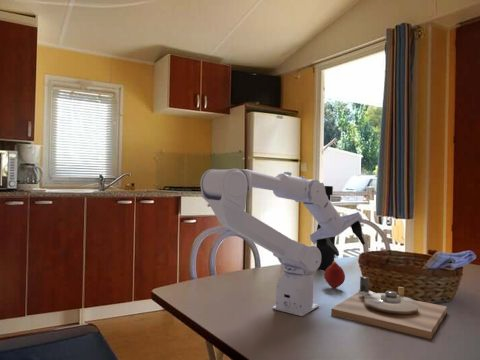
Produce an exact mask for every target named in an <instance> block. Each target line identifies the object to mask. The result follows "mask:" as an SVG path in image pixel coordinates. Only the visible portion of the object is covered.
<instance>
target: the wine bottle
mask: <svg viewBox="0 0 480 360" xmlns="http://www.w3.org/2000/svg"><path fill="white" fill-rule="evenodd" d="M324 186H325V192H326V195H327V196H328V199H329V201H330V202H331V198H332V197H331V196H333V193H334V191H333V190H334V186H333V185H324ZM316 227H317V228H316V231H317V230H318V229H319V228H321V226H320V225H319V223H318V222H317V226H316ZM329 239H330V240H331V242H332V243H333V244H334V245H335V244H336V243H335V242H336V236H334V237H329ZM335 246H336V245H335ZM315 247H317V248H318V249H319V250H320V252H321V264H320V266H319V268H318V269H317V270H318V271H322V270H323V272H325V271H326V269H327V268H328V267H329V266H330V265H332V263H333V261H335V254H334V253H332V252H330V251H328V250H326V249H321V248H320V247H319V244H318V242H317V243H316V244H315Z"/></svg>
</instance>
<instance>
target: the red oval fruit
mask: <svg viewBox="0 0 480 360" xmlns="http://www.w3.org/2000/svg"><path fill="white" fill-rule="evenodd" d="M323 276H324V280H325V282H326V283H327V284H328V286H330V287H331V288H332V289H334V290H335V289H338V288H339V287H340V286H342V285H343V284H344V282H345V280H346V275H345V271H344V269H343V268H342V267H341V266H340V265H339V264H338V263H337V262H336V261H335V260H334V261H333V263H332V265H330V266H329V267H328V268H327V269H326V271H324V274H323Z"/></svg>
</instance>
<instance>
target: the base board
mask: <svg viewBox="0 0 480 360" xmlns="http://www.w3.org/2000/svg"><path fill="white" fill-rule="evenodd" d="M397 288H398V289H397V295H400V296H404V297H405V287H403V286H398V287H397ZM414 300H415V299H414ZM415 301H416V302H417V303H418V304H419V306H418V311H417V312H416V313H412V314H394V313H387V312H382V311H379V310H375V309H373V308H370V307H368V306H367V305H366V304H365V303H364V296H362V295H359V291H358V292H355V293H354V294H352V295H351V296H349V297H347V299H345V300H343V301H342V302H340V303H338V304H336V305H335V306H333V307H332V308H331V316H335V317H337V318H342V319H346V320H350V321H355V322H358V323H362V324H366V325H370V326H375V327H379V328H384V329H388V330H391V331H396V332H400V333H403V334H407V335H411V336H416V337H420V338H424V339H428V340H431V339H432V338H433V336H434V335H435V333H436V331H437V330H438V328H439V326H440V324H441V323H442V321H444V320H443V319H444V318H445V316H446V314H447V312H448V307H447V306H445V305H440V304H435V303H431V302H426V301H425V302H424V301H419V300H415Z"/></svg>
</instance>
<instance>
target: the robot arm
mask: <svg viewBox="0 0 480 360" xmlns="http://www.w3.org/2000/svg"><path fill="white" fill-rule="evenodd" d="M199 182H200V191H201V192H200V193H201V197H202V199H203V200H205V202H207V203H208V204H209V206H210V208H211V210H212V212H213V213H214V215H215V217H216V218H217V220H218V223H220V225H222V226H223V227H225V228H228V230H231V231H232V232H234V233H236V234H238V235H239V236H242V237H243V238H246V239H247V240H248V241H250V242H253V243H254V244H256V245H257V246H260V247H262V248H263V249H265V250H266V251H268V252H271V253H272V255H273V257H275V258H277V260H278V262H279V263H280V264H281V269H283V274H282V276H280V277H279V278H278V279H277V283H276V290H275V291H276V295H275V305H273V306H272V309H273V310H277V311H278V312H279V311H280V312H284V313H286V314H287V313H288V314H291V315H296V316H298V317H303V316H305V315H307V314H308V313H310V312H312V311H314V310H315V309H318V308H319V306H320V304H317V303H313V302H314V278H315V277H314V275H315V274H316V273H317V270H318V268H319V266H320V264H321V252H320V250H319V249H318V248H317V247H316V244H317V242H318V244H319V247H320V248H321V249H326V250H328V251H330V252H332V253H334V256H336V257H338V256H340V253H339V250H338V248H337V246H336V245H334V244H333V243H332V242H331V240H330V239H329V237H334V236H335V237H337V236H339V235H341V234H342V233H343V232H344V231H346V230H347V229H348V228H349V227H351V228H350V229H351V230H352V233H353V234H354V236H356V237H357V239H358V240H359V242H360V243H361V244H362V245H366V241H365V239H364V237H363V227H362V224H361V223H362V222H364V218H363V216H362V214H361V213H360V212H359V211H357V212H354V213H351V214H348V215H347V214H346V215H341V214H339V212H338V210H337V209H336V208H335V206H334V204H332V202H331V201H329V199H328V196H327V195H326V192H325V186H326V185H325V184H324V182H321V181H320V180H318V179H306V176H304V175H299V176H295V175H292V172H291V171H284V172H283V173H279V174H277V175H276V176H272V175H269V174H265V173H262V172H258V171H255V170H251V169H239V168H231V169H217V168H211V169H207V170H206V171H205V172H203V174H202V176H201V178H200V181H199ZM252 188H255V189H261V190H266V191H267V190H268V191H272V192H273V194H274V195H275V197H277V198H281V199H285V200H291V201H294V202H296V203H302V204H303V205H304V207H305V208H306V209H307V210H308V212H309V214H310V215H312V217H313V218H314V220H315V221H316V222H317V224H318V223H319V225H320V226H321V228H319V229H318V230H317V229H316V231H314V232H313V233H311V234H309V239H310V241H311V242H312V244H313V245H307V244H304V243H302V242H299V241H296V240H294V239H291V237H288V236H286V235H285V234H283V233H282V232H280V231H278V230H276V229H275V228H273V227H271V226H270V225H269V224H267V223H265V222H263V221H262V220H260V219H258V218H257V217H256V216H253V215H252V214H250V213H248V212H247V211H246V204H247V194H248V192H250V191H251V190H252Z"/></svg>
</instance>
